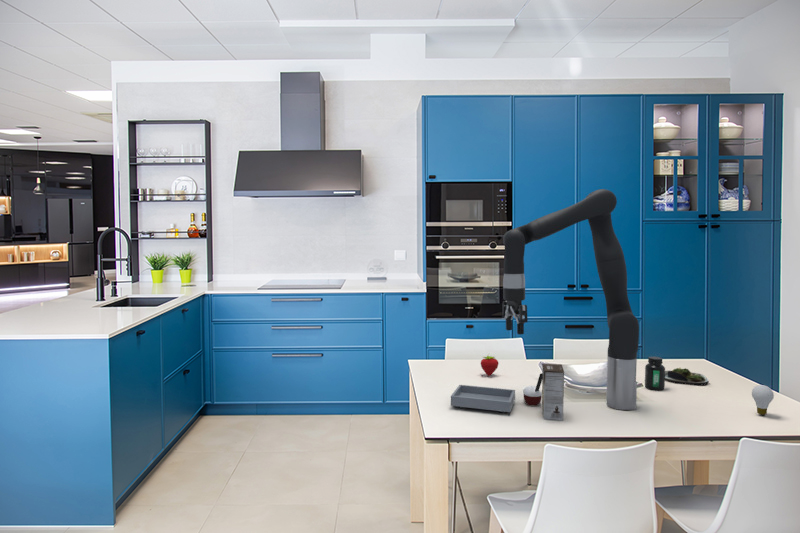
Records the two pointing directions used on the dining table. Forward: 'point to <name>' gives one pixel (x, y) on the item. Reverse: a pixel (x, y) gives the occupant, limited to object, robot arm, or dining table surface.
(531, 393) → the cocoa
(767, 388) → the light bulb
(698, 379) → the salad plate
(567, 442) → the dining table surface
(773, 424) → the dining table surface
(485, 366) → the strawberry
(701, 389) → the dining table surface
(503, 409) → the tray
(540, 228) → the robot arm
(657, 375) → the supplement bottle
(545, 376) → the coffee box
